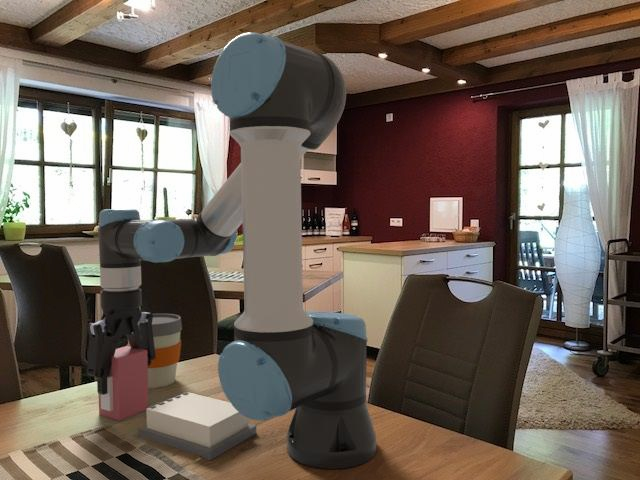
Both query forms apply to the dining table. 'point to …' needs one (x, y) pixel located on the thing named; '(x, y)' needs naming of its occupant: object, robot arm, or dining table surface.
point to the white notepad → (197, 425)
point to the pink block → (128, 383)
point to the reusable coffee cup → (164, 349)
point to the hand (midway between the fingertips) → (123, 402)
